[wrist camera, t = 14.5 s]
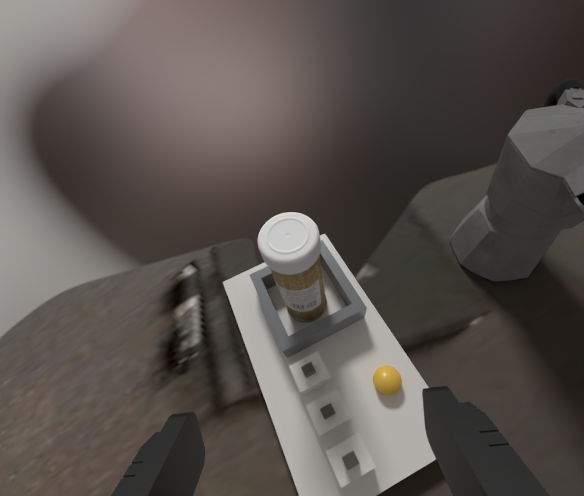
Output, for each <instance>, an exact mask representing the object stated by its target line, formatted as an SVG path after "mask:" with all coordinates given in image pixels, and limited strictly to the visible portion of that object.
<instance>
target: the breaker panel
mask: <svg viewBox="0 0 584 496" xmlns="http://www.w3.org/2000/svg"><path fill="white" fill-rule="evenodd" d="M320 240H321V252H320V260H321V267H322V273H323V277H324V285H325V295H326V300H327V305H326V309H325V311H324V313H323V314H322V315H321V316H320V317H319V318H318V319H316V320H314V321H311V322H301V321H298V320H296V319H294V318H293V317H292V316H291V315H290V314H289V312H288V310H287V307H286V304H285V302H284V300H283V298H282V296H281V294H280V291H279V289H278V287H277V285H276V283H275V280H274V278H273V274H272V272H271V270H270V268H269V267H268V266H267V264H266V263H265V262H264V263H262V264H260V265H258V266H256V267H254V268H252V269H250V270H248V271H245V272H243V273H241V274H239V275H237V276H235V277H233V278H231V279H229V280H227V281H224V282H223V284H224V287H225V290H226V293H227V295H228V298H229V301H230V304H231V307H232V309H233V312H234V315H235V318H236V321H237V323H238V326H239V329H240V332H241V334H242V337H243V340H244V343H245V346H246V348H247V351H248V354H249V357H250V360H251V362H252V365H253V368H254V371H255V374H256V376H257V379H258V382H259V385H260V388H261V390H262V393H263V396H264V399H265V402H266V404H267V407H268V410H269V413H270V416H271V418H272V421H273V424H274V427H275V430H276V432H277V435H278V438H279V441H280V444H281V446H282V449H283V452H284V455H285V458H286V460H287V463H288V466H289V469H290V471H291V474H292V477H293V480H294V483H295V485H296V488H297V491H298V494H299V496H376V495H378V494H380V493H381V492H383V491H385V490H386V489H388V488H390V487H391V486H393V485H395V484H396V483H398V482H399V481H401V480H403V479H404V478H406V477H408V476H409V475H411V474H413V473H414V472H416V471H418V470H419V469H421V468H423V467H424V466H426V465H428V464H429V463H431V462H433V461H434V460H436V458H435V456H434V453H433V451H432V449H431V447H430V444H429V441H428V438H427V435H426V430H425V422H424V409H423V396H422V390H423V389H424V388H428V386H427V385H426V383H425V382H424V380H423V379H422V377H421V376H420V374H419V373H418V371H417V370H416V368H415V367H414V365H413V364H412V362H411V361H410V359H409V358H408V356H407V355H406V353H405V352H404V350H403V349H402V348H401V346H400V345H399V343H398V342H397V340H396V339H395V337H394V336H393V334H392V333H391V331H390V330H389V328H388V327H387V325H386V324H385V322H384V321H383V319H382V318H381V316H380V315H379V313H378V312H377V310H376V309H375V307H374V306H373V304H372V303H371V301H370V300H369V299H368V297H367V296H366V294H365V293H364V291H363V290H362V288H361V287H360V285H359V284H358V282H357V281H356V279H355V278H354V276H353V275H352V273H351V272H350V271H349V269H348V267H347V266H346V264H345V263H344V261H343V260H342V258H341V257H340V255H339V254H338V253H337V251H336V250H335V248H334V247H333V245H332V244H331V242H330V241H329V239H328V238H327V236H326V235H325V234H323V235H321V236H320Z"/></svg>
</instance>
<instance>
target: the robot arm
mask: <svg viewBox="0 0 584 496" xmlns="http://www.w3.org/2000/svg"><path fill="white" fill-rule="evenodd" d="M422 396H423V409H424V422H425V430H426V435H427V438H428V441H429V444H430V447H431V449H432V451H433V453H434V456H435V458H436V460H437V462H438V464H439V466H440V468H441V470H442V473H443V475H444V477H445V479H446V481H447V483H448V485H449V487H450V489H451V492H452V494H453V496H549V494H548V493H547V492H546V490H545V489H544V488H543V487H542V485H541V484H540V483H539V481H538V480H537V479H536V478H535V476H534V475H533V474H532V473H531V471H530V470H529V469H528V467H527V466H526V465H525V464H524V462H523V461H522V460H521V458H520V457H519V456H518V455H517V453H516V452H515V451H514V449H513V448H512V447H510V446H509V443H508V442H507V440H506V439H505V438H504V437H503V435H502V434H501V433H499V431H498V429H497V428H496V426H495V425H494V424H493V422H492V421H491V420H490V419H489V417H488V416H487V415H486V414H485V413H484V412H482V411H481V410H480V409H478V408H477V407H476V406H474V405H473V404H471V403H470V402H464V403H459V402H458V401H457V399H456V398H455V396H454V395H453V393H452V392H451V391H450V389H449V388H448V387H447V386H443V387H433V388H424V389H423V390H422ZM204 460H205V447H204V443H203V439H202V436H201V432H200V428H199V425H198V421H197V418H196V415H195V413H193V412H189V413H180V414H172V415H171V416H170V417H169V418H168V420H167V421H166V423H165V425H164V427H163V428H162V430H161V432H157V433H155V434H154V435H153V436H152V437H151V438H150V439H149V440H148V441H147V442H146V443H145V444H144V445H143V446H142V447H141V448H140V450H139V452H138V453H137V455H136V456H135V458H134V460H133V461H132V465H131V466H129V468H128V469H127V471H126V473H125V474H124V477H123V479H121V481H120V482H119V484H118V485H117V487H116V489H115V490H114V492H113V493H112V495H111V496H193V494H194V491H195V488H196V486H197V483H198V480H199V477H200V474H201V472H202V469H203V466H204Z"/></svg>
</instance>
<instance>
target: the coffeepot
mask: <svg viewBox="0 0 584 496" xmlns="http://www.w3.org/2000/svg"><path fill="white" fill-rule="evenodd" d="M486 194H487V195H486V196H485V197H484V198H483V199H482V200H481V201H480V202H479V203H478V205H477V206H476V207H475V208H474V209H473V210H472V211H471V212H470V213H469V214H468V215H467V216H466V217H465V218H464V219H463V220H462V221H461V223H460V224H459V226H458V227H457V228H456V230H455V231H454V233H453V234H452V235H451V237H450V238H449V240H450V243H451V245H452V249H453V252H454V254H455V256H456V258H457V259H458V261H459V263H460V265H462V266H463V267H465V268H466V269H468V270H469V271H471V272H473V273H474V274H476V275H478V276H481V277H483V278H486V279H489V280H491V281H493V282H495V281H511V280H516V279H521V278H528V277H529V275H530V274H531V272H532V271H533V270H534V268H535V267H536V265H537V264H538V263H539V261H540V260H541V258H542V257H543V255H544V254H545V253H546V251H547V250H548V248H549V247H550V246H551V244H552V243H553V241H554V240H555V238H556V237H557V235H558V234H559V232H560V231H561V230H562V229H568V228H572V227H574V226H576V225H577V224H579V223H581V222H582V221H584V90H582V82H581V81H580V80H579V79H577V78H570V79H567V80H564V81H563V82H561V83H560V84H558V85H557V86H555V87H554V88H553V89H552V90H551V91H550V92H549V94H548V96H547V98H546V100H545V102H544V104H543V107H542V108H537V109H531V110H526V111H525V113H524V114H523V115H522V117H521V118H520V119H519V121H518V122H517V123H516V125H515V126H514V127H513V129H512V130H511V131H510V133H509V134H508V135H507V139H506V141H505V144H504V147H503V149H502V152H501V155H500V157H499V160H498V163H497V166H496V168H495V171H494V174H493V176H492V179H491V182H490V185H489V187H488V190H487V193H486Z"/></svg>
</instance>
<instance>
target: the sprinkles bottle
mask: <svg viewBox="0 0 584 496" xmlns="http://www.w3.org/2000/svg"><path fill="white" fill-rule="evenodd" d="M258 247H259V250H260V253H261V255H262V257H263V259H264V261H265V263H266V264H267V266H268V267H269V268H270V270H271V272H272V274H273V278H274V280H275V283H276V285H277V287H278V289H279V291H280V294H281V296H282V298H283V300H284V302H285V304H286V307H287V310H288V312H289V314H290V315H291V316H292V317H293V318H294V319H296V320H298V321H301V322H311V321H314V320H316V319H318V318H319V317H320V316H321V315H322V314H323V313H324V311H325V309H326V305H327V300H326V295H325V285H324V277H323V273H322V267H321V260H320V252H321V240H320V235H319V230H318V227H317V225H316V224H315V223H314V222H313V220H312V219H310V218H309V217H308V216H305V215H303V214H301V213H294V212H288V213H282V214H279V215H276V216H274V217H273V218H271V219H270V220H268V221H267V222H266V223H265V224H264V225H263V227H262V228H261V230H260V233H259V235H258Z"/></svg>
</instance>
